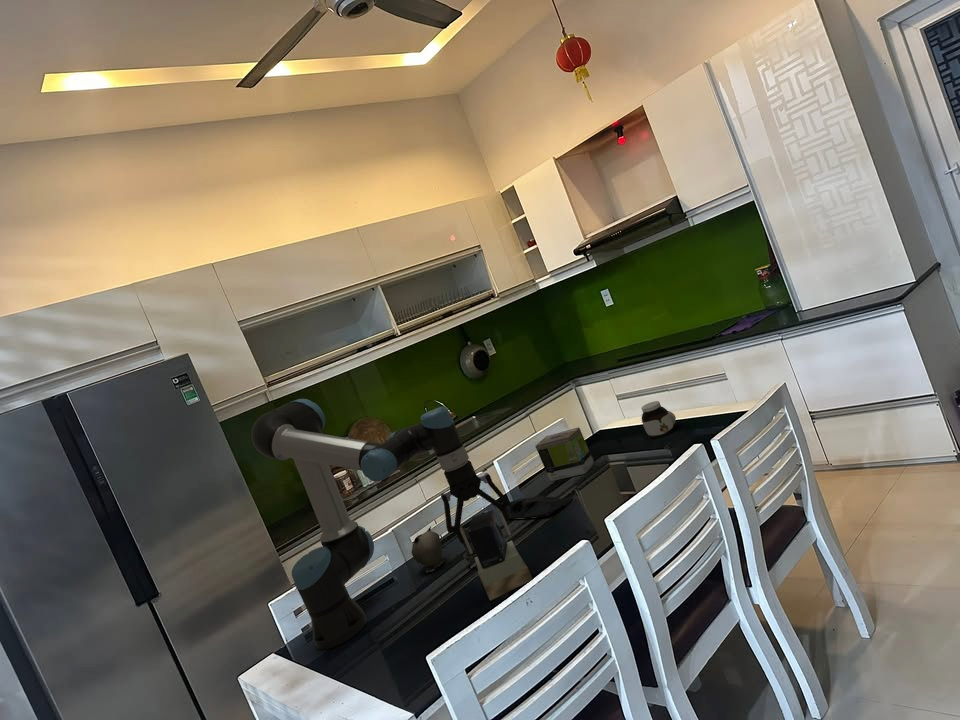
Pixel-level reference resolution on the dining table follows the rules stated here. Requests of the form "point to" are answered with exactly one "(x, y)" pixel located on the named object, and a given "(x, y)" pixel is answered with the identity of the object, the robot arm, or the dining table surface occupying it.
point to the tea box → (565, 454)
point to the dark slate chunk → (537, 506)
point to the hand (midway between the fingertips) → (490, 542)
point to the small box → (487, 539)
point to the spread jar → (657, 419)
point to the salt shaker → (467, 555)
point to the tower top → (501, 566)
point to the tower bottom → (508, 583)
